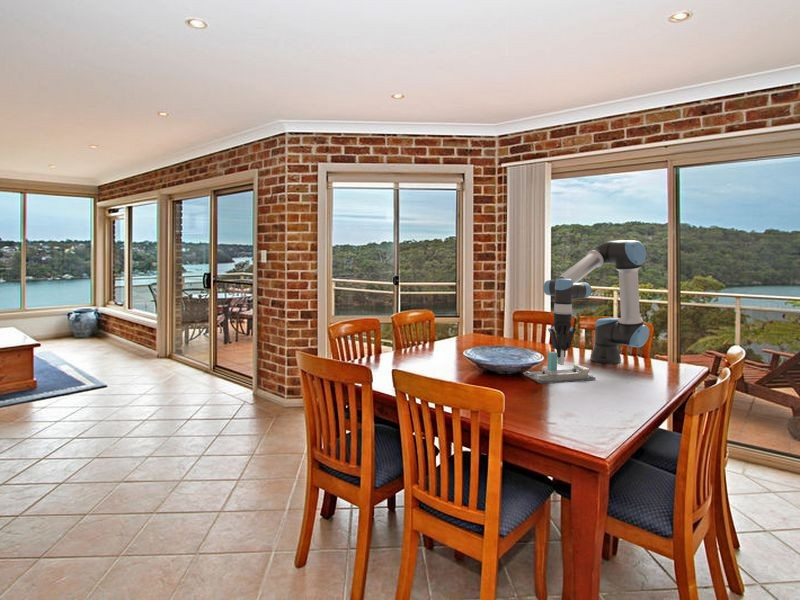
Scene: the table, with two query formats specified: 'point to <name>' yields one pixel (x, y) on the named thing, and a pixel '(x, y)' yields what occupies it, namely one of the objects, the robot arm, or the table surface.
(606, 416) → the table surface
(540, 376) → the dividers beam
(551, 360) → the sliding leg
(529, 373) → the bolt plate
